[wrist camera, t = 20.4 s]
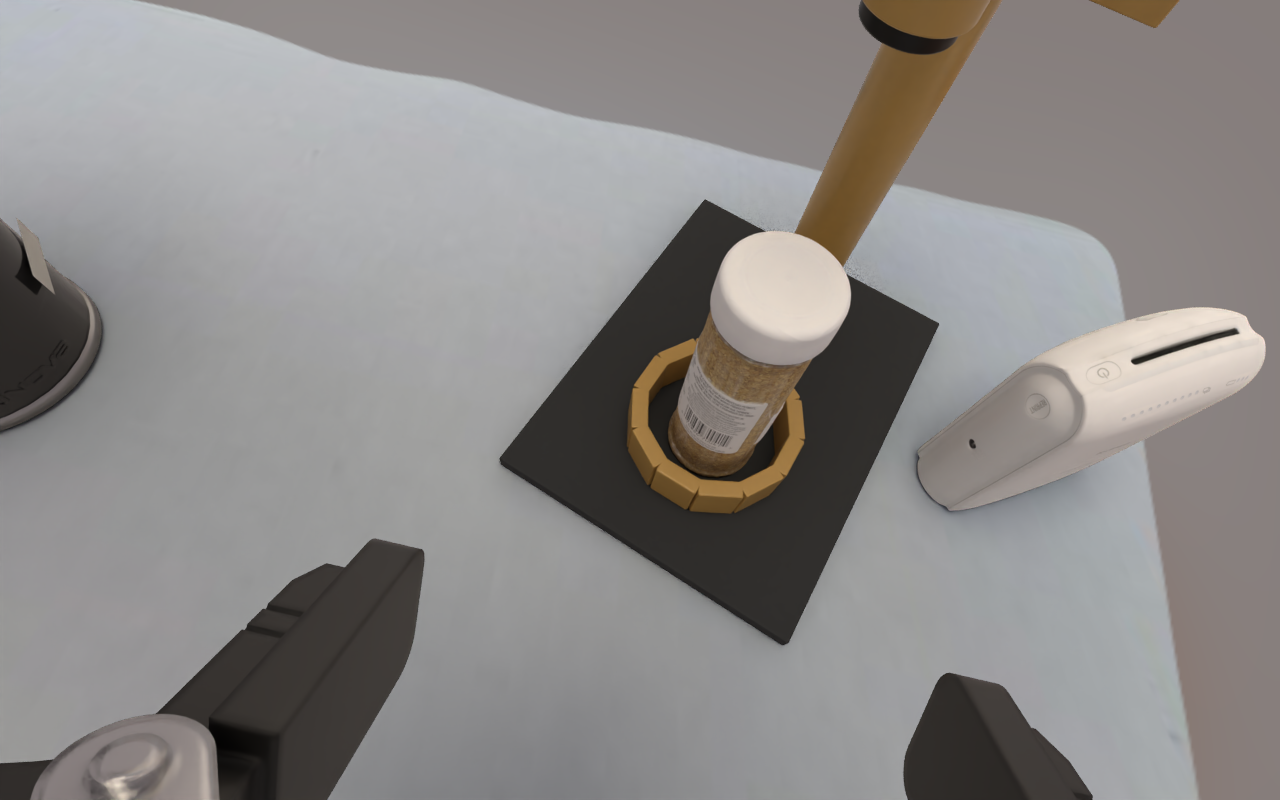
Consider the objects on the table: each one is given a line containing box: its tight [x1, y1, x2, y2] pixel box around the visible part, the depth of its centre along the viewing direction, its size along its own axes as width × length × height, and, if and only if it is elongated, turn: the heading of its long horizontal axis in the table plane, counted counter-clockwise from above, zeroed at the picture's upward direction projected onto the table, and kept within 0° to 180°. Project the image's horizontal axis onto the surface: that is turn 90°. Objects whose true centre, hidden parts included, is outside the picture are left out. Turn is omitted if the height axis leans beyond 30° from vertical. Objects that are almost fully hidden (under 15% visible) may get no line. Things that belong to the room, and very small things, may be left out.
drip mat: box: [500, 200, 939, 645], centre depth 36 cm, size 16×21×1 cm
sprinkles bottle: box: [668, 231, 851, 477], centre depth 28 cm, size 5×5×14 cm
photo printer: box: [917, 307, 1266, 511], centre depth 30 cm, size 10×4×12 cm, turn 109°
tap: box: [627, 0, 1179, 514], centre depth 24 cm, size 10×17×27 cm, turn 148°
